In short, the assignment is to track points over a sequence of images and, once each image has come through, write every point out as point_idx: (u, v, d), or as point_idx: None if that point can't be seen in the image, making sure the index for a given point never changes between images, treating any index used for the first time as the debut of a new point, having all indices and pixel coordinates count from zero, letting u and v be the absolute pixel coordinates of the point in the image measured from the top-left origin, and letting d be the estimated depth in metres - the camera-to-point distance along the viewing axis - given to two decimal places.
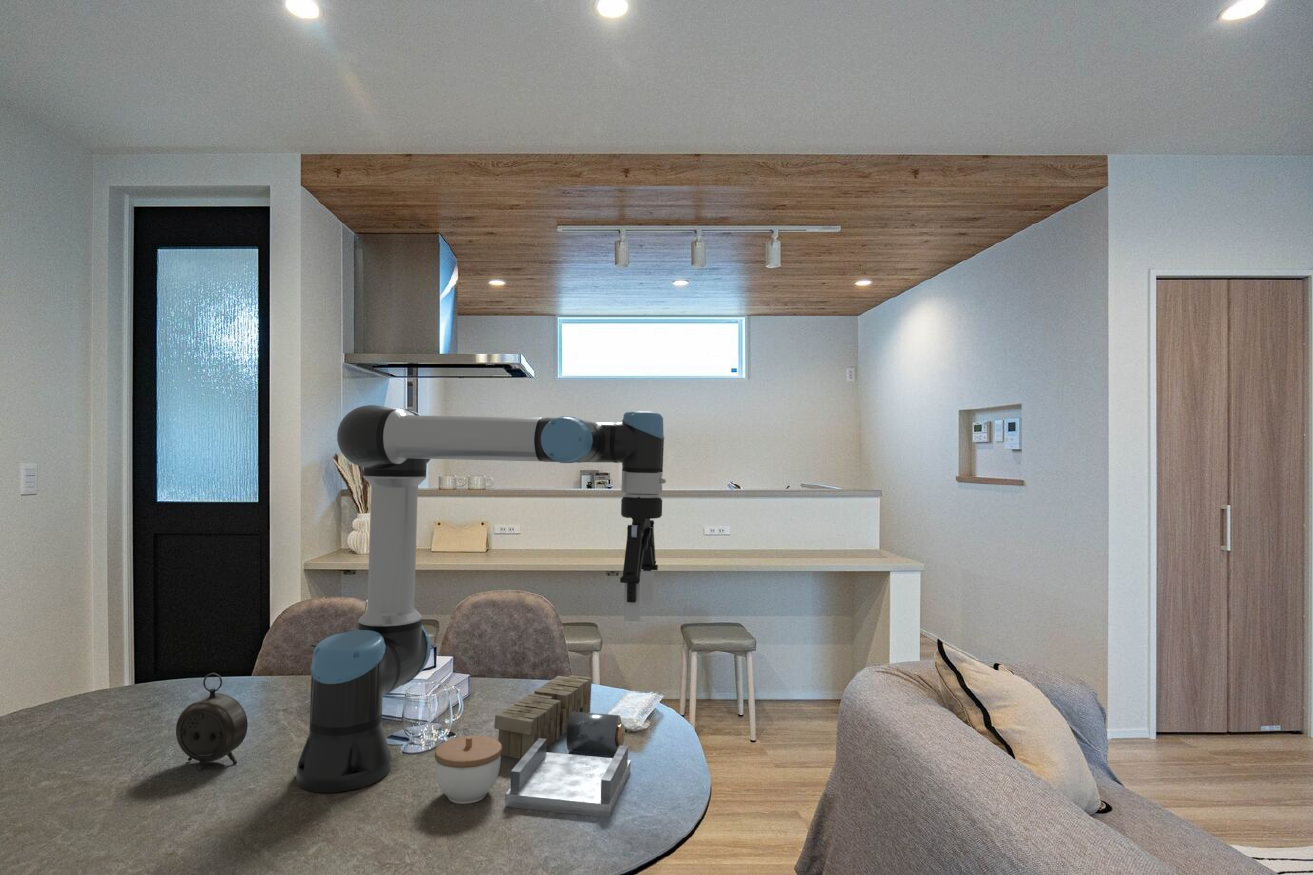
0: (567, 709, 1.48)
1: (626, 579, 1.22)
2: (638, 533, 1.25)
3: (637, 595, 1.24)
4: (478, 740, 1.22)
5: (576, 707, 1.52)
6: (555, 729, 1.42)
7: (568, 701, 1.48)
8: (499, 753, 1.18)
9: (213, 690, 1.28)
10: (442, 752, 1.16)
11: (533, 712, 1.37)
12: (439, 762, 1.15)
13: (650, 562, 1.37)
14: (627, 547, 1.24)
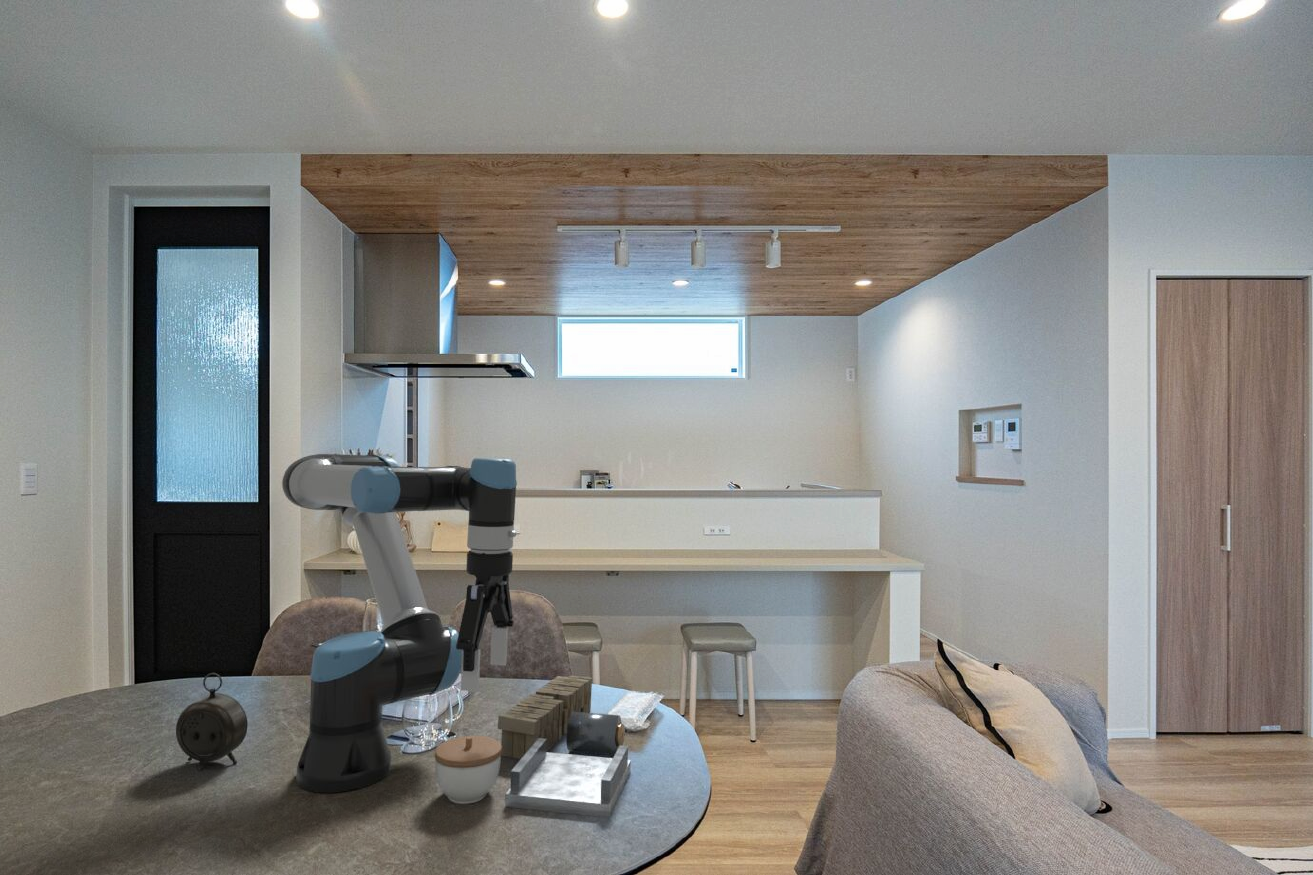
0: (569, 709, 1.48)
1: (460, 647, 1.11)
2: (478, 595, 1.14)
3: (475, 663, 1.14)
4: (478, 740, 1.22)
5: (577, 707, 1.52)
6: (557, 730, 1.42)
7: (570, 701, 1.48)
8: (499, 753, 1.18)
9: (213, 690, 1.28)
10: (442, 752, 1.16)
11: (536, 712, 1.37)
12: (439, 762, 1.15)
13: (503, 619, 1.27)
14: (465, 610, 1.13)
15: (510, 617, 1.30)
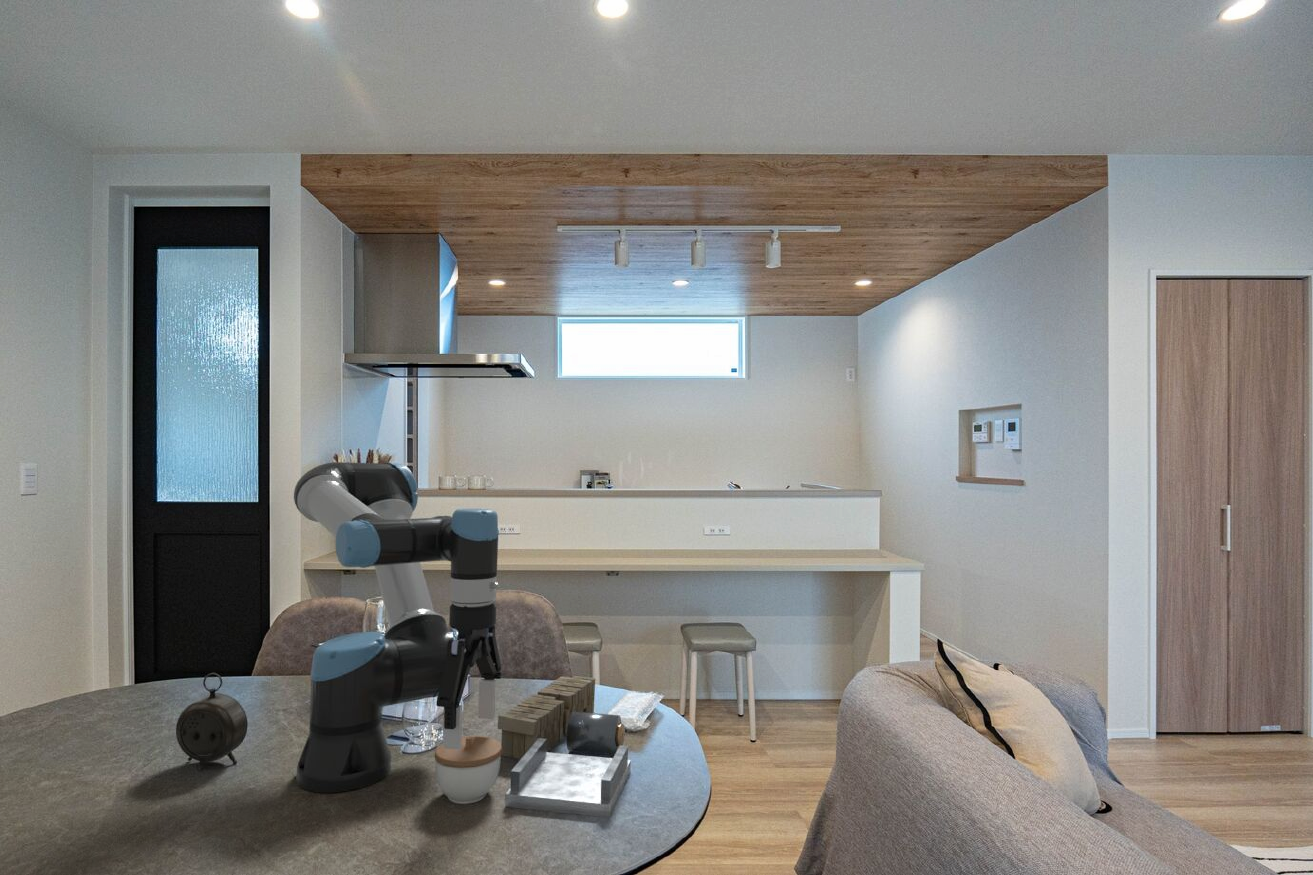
0: (570, 710, 1.47)
1: (440, 705, 1.09)
2: (459, 650, 1.12)
3: (457, 720, 1.12)
4: (478, 740, 1.22)
5: (579, 708, 1.51)
6: (558, 730, 1.42)
7: (571, 702, 1.48)
8: (499, 753, 1.18)
9: (213, 690, 1.28)
10: (442, 752, 1.16)
11: (536, 713, 1.37)
12: (439, 762, 1.15)
13: (490, 671, 1.25)
14: (445, 666, 1.12)
15: (498, 669, 1.28)
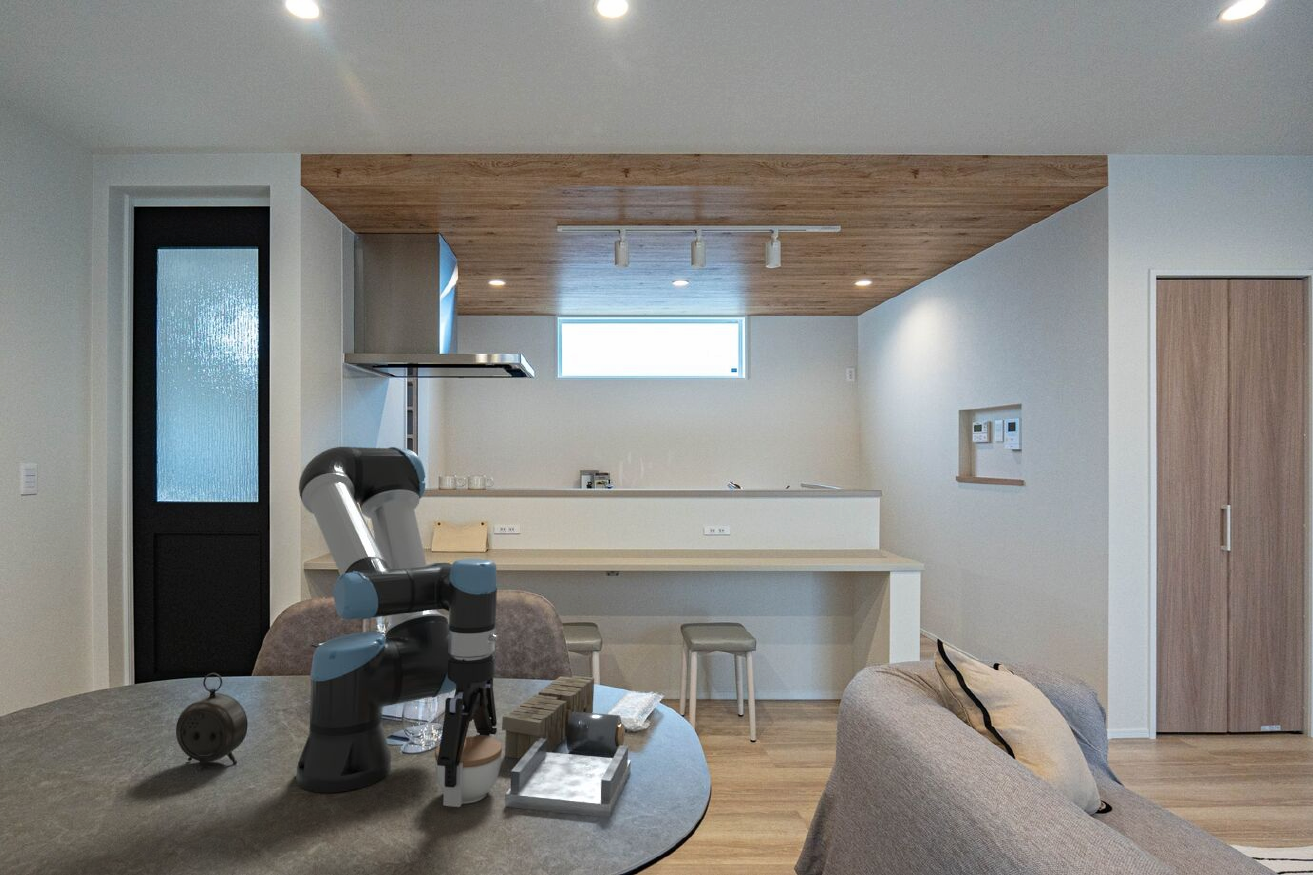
0: (572, 710, 1.47)
1: (441, 764, 1.10)
2: (457, 709, 1.12)
3: (457, 778, 1.13)
4: (478, 739, 1.22)
5: (580, 708, 1.52)
6: (561, 730, 1.42)
7: (573, 701, 1.48)
8: (499, 753, 1.18)
9: (213, 690, 1.28)
10: None
11: (540, 713, 1.36)
12: None
13: (486, 725, 1.24)
14: (444, 725, 1.12)
15: (494, 723, 1.26)
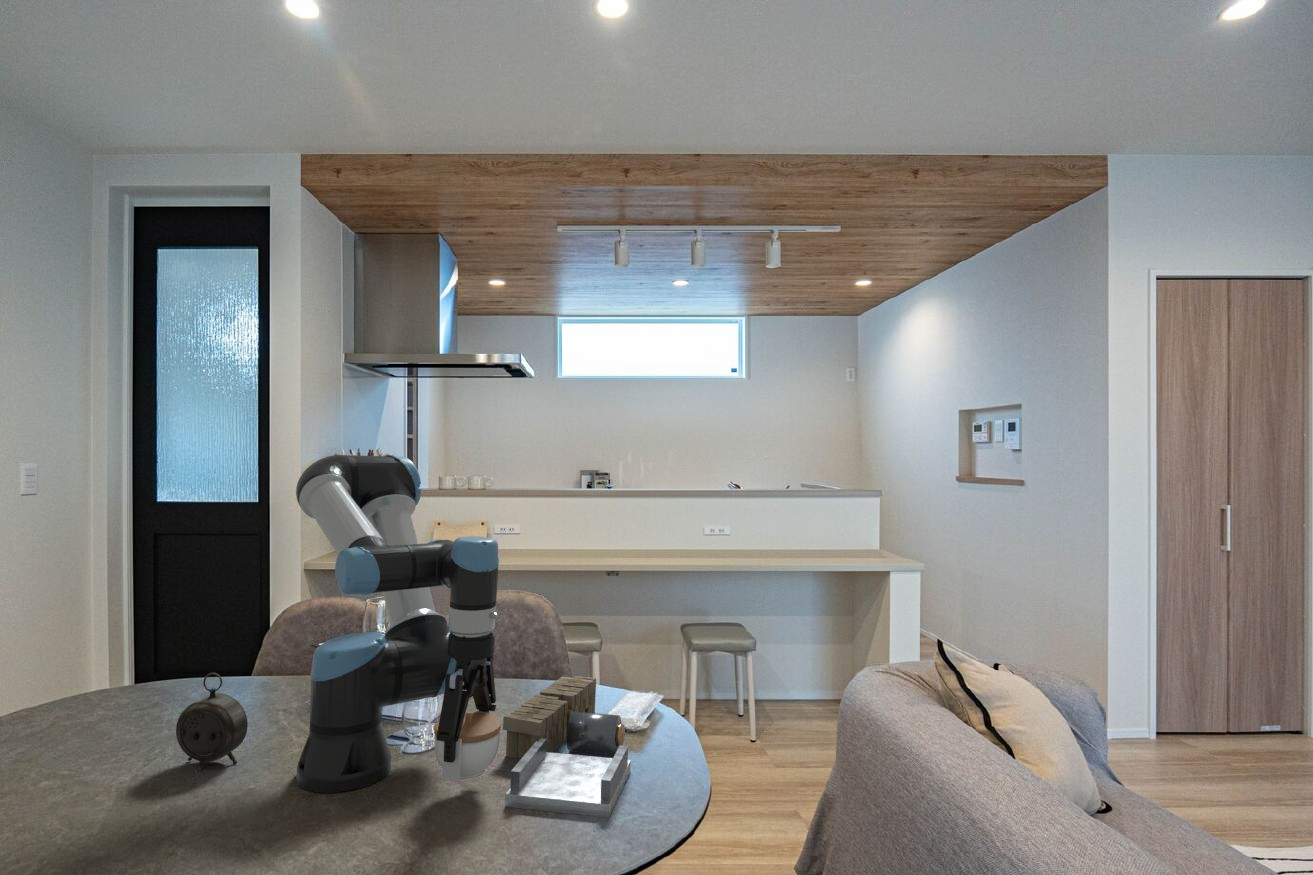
0: (573, 710, 1.47)
1: (440, 739, 1.11)
2: (457, 685, 1.13)
3: (456, 753, 1.13)
4: (478, 716, 1.22)
5: (581, 708, 1.51)
6: (562, 730, 1.42)
7: (574, 702, 1.48)
8: (498, 730, 1.19)
9: (213, 690, 1.28)
10: None
11: (541, 713, 1.36)
12: None
13: (485, 702, 1.24)
14: (444, 701, 1.12)
15: (493, 700, 1.27)
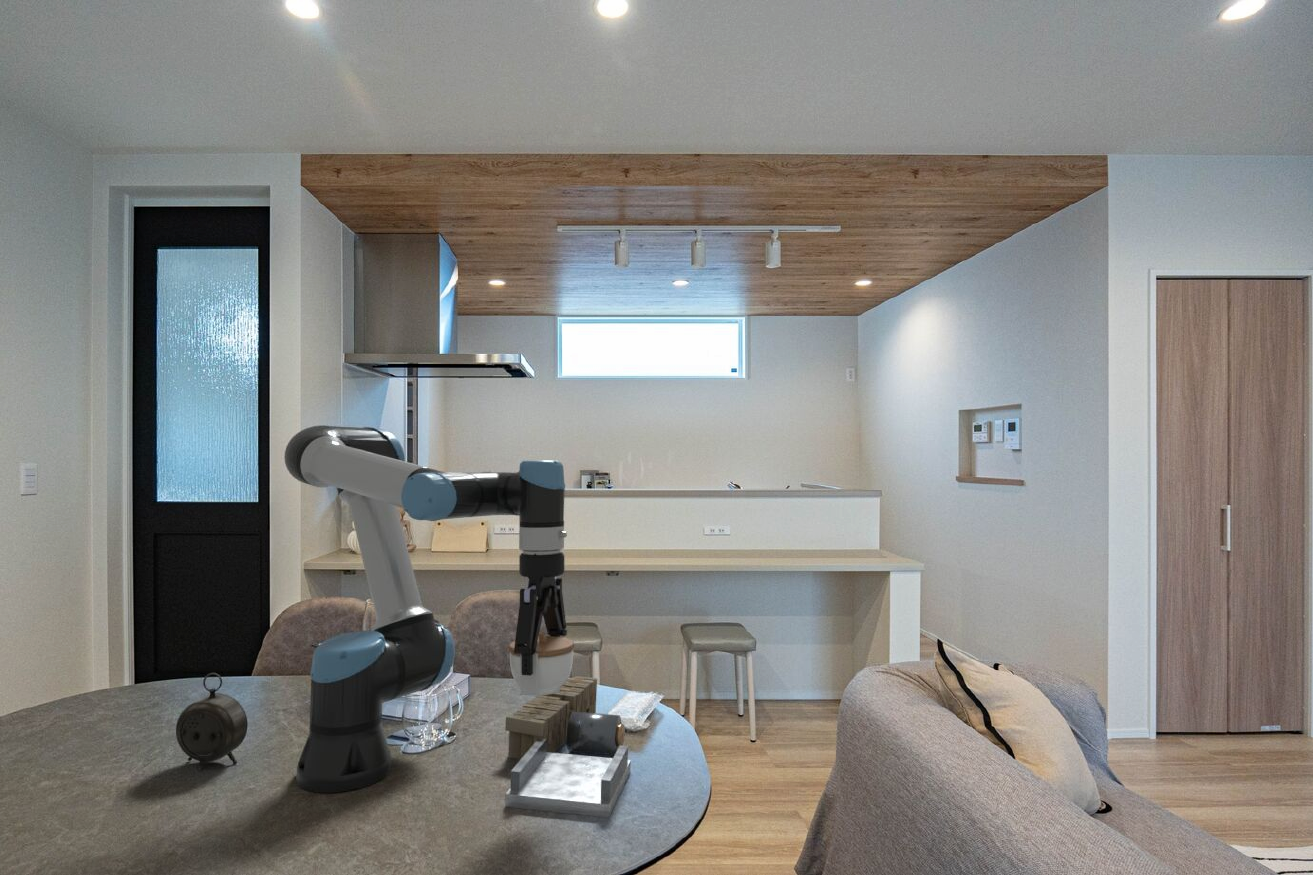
0: (575, 710, 1.47)
1: (518, 651, 1.12)
2: (531, 598, 1.14)
3: (533, 667, 1.15)
4: (550, 638, 1.24)
5: (583, 708, 1.51)
6: (564, 731, 1.42)
7: (576, 702, 1.48)
8: (572, 647, 1.20)
9: (213, 690, 1.28)
10: None
11: (544, 713, 1.36)
12: (514, 654, 1.17)
13: (557, 626, 1.26)
14: (520, 614, 1.14)
15: (563, 626, 1.28)
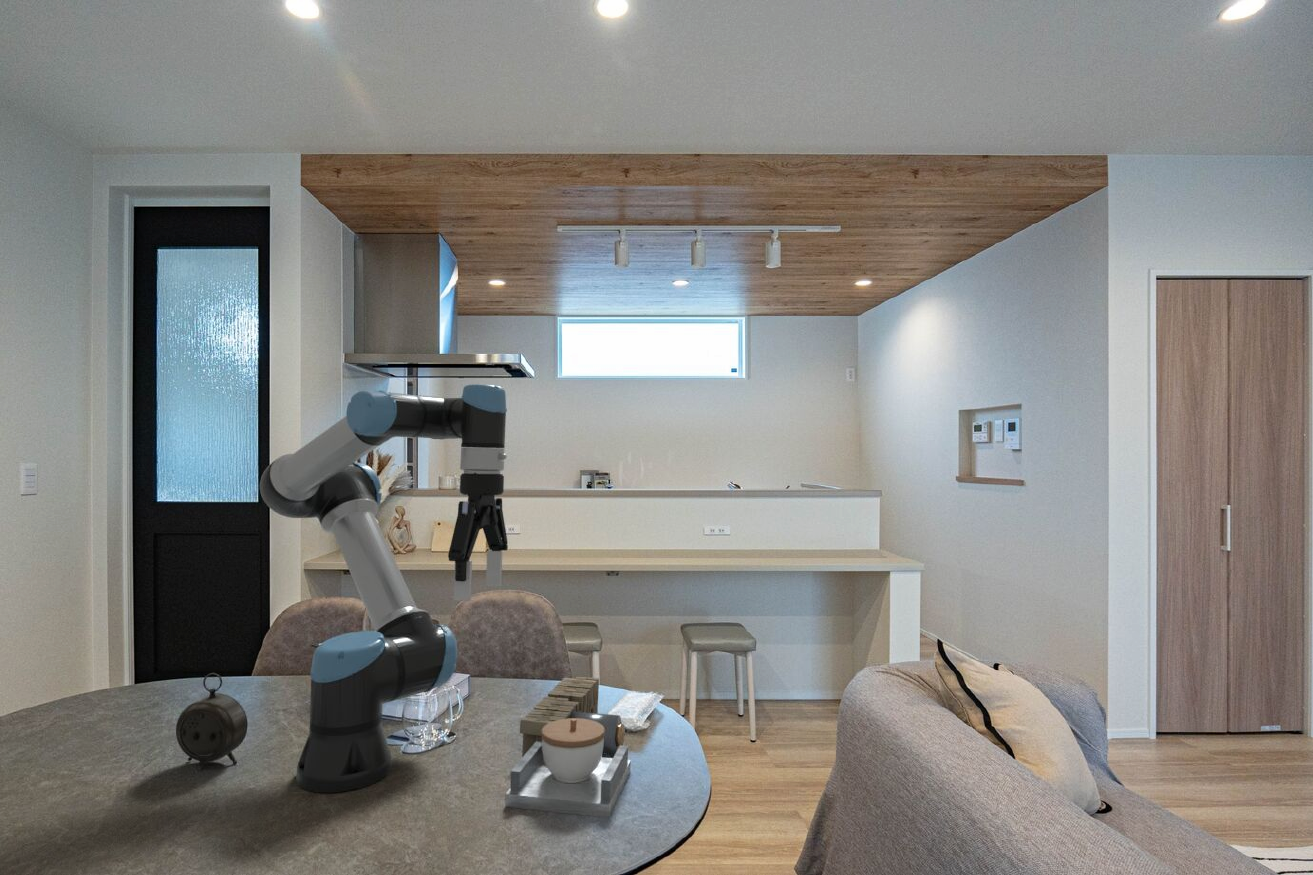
0: (582, 710, 1.47)
1: (452, 557, 1.17)
2: (469, 509, 1.20)
3: (467, 574, 1.20)
4: (580, 722, 1.25)
5: (588, 708, 1.51)
6: None
7: (583, 702, 1.47)
8: (603, 734, 1.22)
9: (213, 690, 1.28)
10: (550, 733, 1.20)
11: (557, 715, 1.36)
12: (548, 743, 1.19)
13: (497, 542, 1.33)
14: (456, 524, 1.20)
15: (505, 542, 1.36)
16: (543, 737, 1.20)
